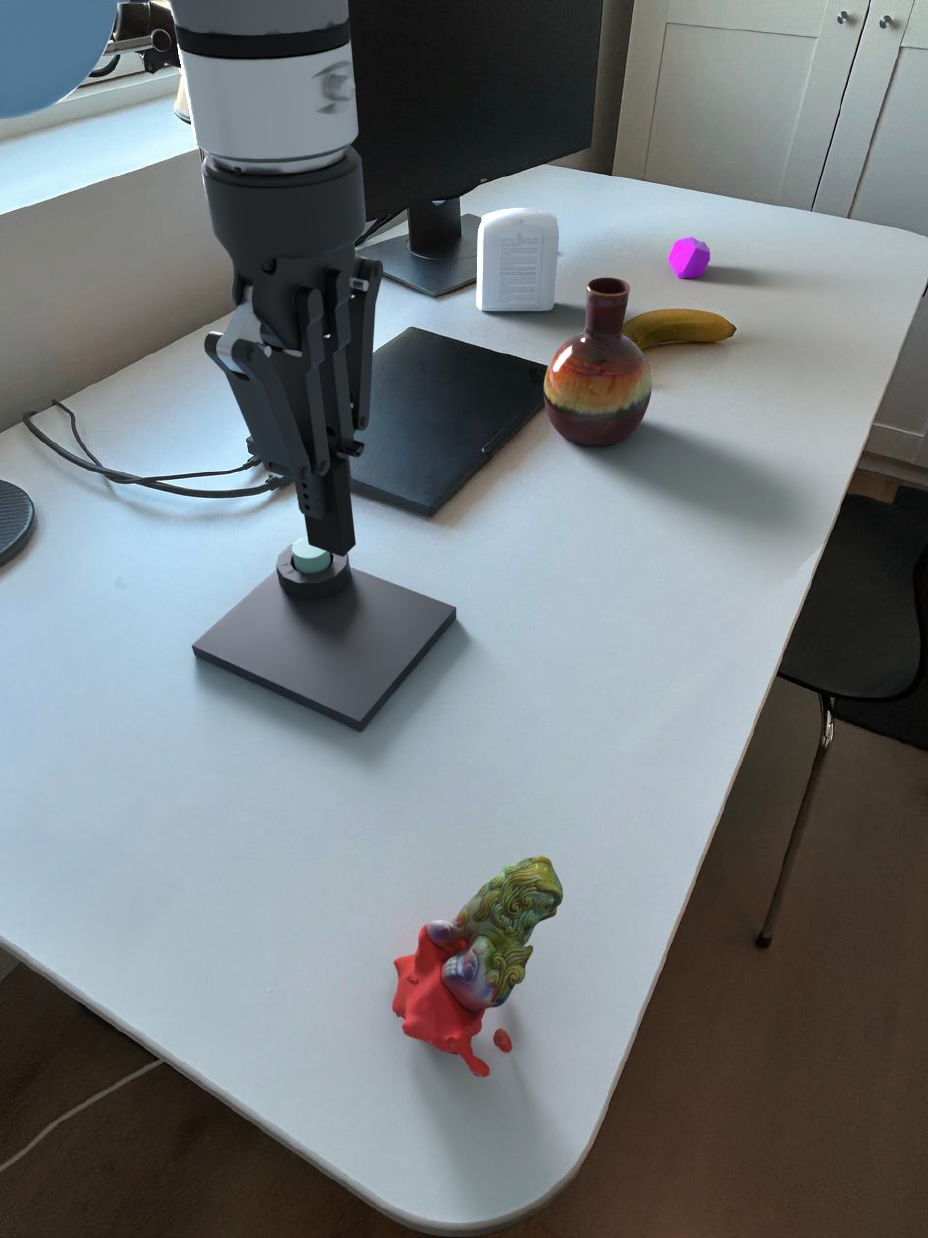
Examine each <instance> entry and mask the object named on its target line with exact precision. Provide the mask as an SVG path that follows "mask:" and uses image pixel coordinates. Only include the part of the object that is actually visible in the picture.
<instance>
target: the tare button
mask: <svg viewBox="0 0 928 1238" xmlns="http://www.w3.org/2000/svg"><path fill="white" fill-rule="evenodd" d="M293 543H294V545H293V547H292V552H293V558H294V564H295V567H296V569H297V570H298V571H299V572H301V573H304V574H316V573H319V572H322V571H324V570H326V569H327V568H328V567H329V565H330V563H331V560H330V553H329V552H328V551H325V550H322V549H319V548H317V547H314V546H311V545H309V543H308V537H307V536H304V537H302V538H299V539H298V540H296V541H295V542H293Z"/></svg>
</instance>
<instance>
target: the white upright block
mask: <svg viewBox="0 0 928 1238" xmlns="http://www.w3.org/2000/svg"><path fill="white" fill-rule="evenodd" d="M481 216H482V217H481V222H480V224H479V227H478V232H477V263H476V264H477V267H476V268H477V269H476V270H477V272H476V307H477V309H479V311H482V312H483V311H485V312H546V311H551V310H552V309H553V308H554V305H555V304H554V303H555V295H556V293H555V292H556V280H557V268H558V258H559V257H558V256H559V241H560V230H559V225H558V218H557V216H556V215H555V214H552V213H551V212H548V211H544V210H540V209H535V208H529V207H527V208H526V207H513V208H511V207H510V208H505V209H504V208H503V209H499V210H495V211H492V212H489V213H486V214H484V215H481Z"/></svg>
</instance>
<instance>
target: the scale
mask: <svg viewBox="0 0 928 1238" xmlns="http://www.w3.org/2000/svg"><path fill="white" fill-rule="evenodd" d="M294 543H295V542H293V543H290V544H288V546H287V547H286V548H284V549H283V550H282V551H281V552H280V553H279V554H278V556H277V560H276V564H275V568H276V569H275V570H274V571H272V572H271V573H270V574H269V575H268V576H267V577H266V578H265V579H263V580H262V581H261V582H259V584H257V586H255V588H254V589H252V590H251V591H250V592H249V593H248V594H247V595H246V596H244V597H243V598H242V599H241V600H239V602H238V603H237V604H236V605H235V606H233V607H232V608H231V609H230V610H229V611H228V612H227V613H225V615H223V616H222V617H221V618H220V619H219V620H218V621H217V622H215V624H213V625H212V626H211V627H210V628H209V629H208V630H207V631H205V632H204V633H203V634H202V635H201V636H199V638H198V639H197V640H196V641H194V642H193V643H192V644H191V650H192V652H193V655H194V657H196V658H198V659H201V660H203V661H205V662H206V663H209V664H211V665H214V666H216V667H218V668H220V669H222V670H225V671H227V672H228V673H231V674H233V675H235V676H237V677H239V678H241V679H244V680H247V681H248V682H251V683H252V684H255V685H257V686H259V687H261V688H264V689H266V690H268V691H270V692H272V693H275V694H277V695H279V696H280V697H283V698H286V699H287V700H290V701H292V702H293V703H296V704H299V705H300V706H303V707H304V708H307V709H309V710H311V711H313V712H316V713H318V714H320V715H321V716H322V715H323V716H325V717H327V718H329V719H332V720H333V721H335V722H338V723H340V724H342V725H344V726H347V727H348V728H351V729H352V730H355V731H357V732H359V733H363V731H364V730H365V729H366V727H367V726H368V725H369V724H370V723H371V722H372V720H373V719H374V718H375V717H376V716H377V715H378V713H379V712H380V711H381V709H382V708H383V707H384V706H385V704H386V703H387V702H388V701H389V700H390V699H391V697H392V696H393V695H394V694H395V692H396V691H397V690H398V689H399V688H400V687H401V685H403V683H404V682H405V680H406V679H407V678H408V677H409V676H410V675H411V673H412V672H413V671H414V670H415V669H416V667H417V666H418V665H419V664H420V662H422V660H423V659H424V658H425V657H426V655H427V654H428V653H429V651H431V649H432V648H433V647H434V646H435V644H436V643H437V642H438V640H439V639H440V638H441V637H442V636H443V635H444V633H445V632H446V630H448V629H449V628H450V626H451V625H452V624H453V623H454V622H455V620H456V619H457V606H454V605H451V604H449V603H446V602H443V601H441V600H439V599H435V598H433V597H430V596H427V595H425V594H423V593H419V592H417V591H415V590H412V589H410V588H408V587H407V588H406V587H404V586H401V585H399V584H396V583H393V582H390V581H388V580H386V579H383V578H380V577H378V576H375V575H374V574H373V575H372V574H371V573H367V572H365V571H362V570H359V569H357V568H354V567H352V566H351V565H350V557H349V552H348V553H347V554H346V555H345V556H344V557H342V556H339V555H336V554H333V553H331V552H329V553H330V560H331V563H330V565H329V567H328V568H327V569H326V570H324V571H322V572H319V573H316V574H304V573H301V572H299V571H298V570H297V569H296V567H295V564H294V558H293V552H292V547H293V545H294Z"/></svg>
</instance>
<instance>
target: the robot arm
mask: <svg viewBox="0 0 928 1238" xmlns="http://www.w3.org/2000/svg"><path fill="white" fill-rule="evenodd" d="M159 1H160V0H0V120H11V119H15V118H20V117H24V116H29V115H32V114H35V113H38V112H40V111H43V110H46V109H48V108H50V107H53V105H56V104H57V103H59V102H60V101H62V100H64V99H66V98H67V97H68V96H69V95H71V94H72V93H74V91H75V90H76V89H78V88H79V87H81V85H82V84H83V83H84V81H85V80H87V78H88V77H89V76H90V74H92V72H93V71H94V69H95V68H96V67H97V65H98V63H99V62H100V60H101V59H102V57H103V55H104V53H105V52H106V49H107V47H108V44H109V41H110V38H111V37H112V33H113V30H114V26H115V23H116V18H117V13H118V12H117V11H118V7H119V5H121V4H131V5H138V4H149V3H150V2H159ZM167 1H168V5H169V7H170V11H171V15H172V17H173V21H174V23H173V25H174V27H173V28H174V32H175V37H176V43H177V49H178V55H179V61H180V64H181V65H180V66H181V72H182V77H183V83H184V88H185V94H186V98H187V105H188V109H189V115H190V120H191V121H190V122H191V126H192V127H191V128H192V132H193V138H194V141H195V143H196V146H197V147H198V148H200V149H201V150H203V152H204V153H206V154H207V155H206V156H205V157H204V160H203V162H202V164H201V165H200V170H201V175H202V181H203V185H204V186H203V187H204V191H205V196H206V197H205V198H206V202H207V207H208V212H209V218H210V224H211V228H212V232H213V235H214V237H215V238H216V240H217V241H218V243H220V245H221V246H222V247H223V249H224V250H225V252H226V253H227V254H228V256H229V257H230V259H231V262H232V271H233V273H232V283H231V287H230V289H231V290H230V291H231V292H230V294H231V301H232V303H233V306H234V308H235V311H234V313H233V315H232V317H231V319H230V321H229V323H228V325H227V327H226V328H225V331H224V333H222V332H219V331H210V332H208V333H207V335H206V337H205V338H204V342H203V349H204V352H205V353H206V356H207V357H209V359H211V360H212V362H213V363H215V364H216V366H217V367H218V368H219V369H220V370H221V371H222V372H223V373H224V374H225V377H226V380H227V382H228V385H229V387H230V389H231V391H232V394H233V396H234V398H235V401H236V403H237V406H238V408H239V410H240V413H241V415H242V417H243V420H244V422H245V424H246V426H247V429H248V432H249V435H250V436H251V439H252V441H253V444H254V446H255V449H256V451H257V453H258V456H259V458H260V460H261V462H262V465H263V467H264V469H265V471H267V472H270V473H273V474H276V475H279V476H281V477H284V478H288V479H291V480H294V487H295V492H296V499H297V505H298V509H299V511H300V513H301V514H302V515H303V516H304V517H303V518H304V522H305V523H304V524H305V531H306V537H308V543H309V545H311V546H314V547H317V548H319V549H322V550H325V551H328V552H331V553H333V554H336V555H339V556H342V557H344V556H345V555H346V554H347V553H348V554H349V552H350V551H351V550H352V549H353V548H354V547H355V546H356V545H357V542H356V531H355V523H354V515H353V514H354V513H353V503H352V496H351V493H352V486H353V480H352V479H353V478H352V472H351V462H350V457H353V458H360V457H362V455H363V453H364V451H365V447H366V446H365V442H362V441H358V440H357V439H356V440H355V434H356V432H357V431H359V432H364V431H365V430H366V429H367V428H368V426H369V424H370V413H371V394H372V377H373V359H374V343H375V342H374V340H375V326H376V325H375V323H376V307H377V305H376V304H377V302H378V301H377V300H378V296H379V293H380V292H379V291H380V287H381V284H382V283H381V282H382V280H383V276H384V275H383V274H384V265H383V262H382V260H380V259H376V258H369V257H365V256H361V255H359V254H357V253H356V246H355V242H356V241H357V240H358V239H359V238H360V237H361V236H362V234H363V233H364V230H365V228H366V222H367V215H366V201H365V190H364V189H365V188H364V187H365V186H364V176H363V161H362V157H361V155H360V154H359V153H358V152H357V150H356V149H355V148H354V147H353V146H352V145H351V144H352V143H354V141H355V140H356V138H357V137H358V135H359V122H358V110H357V109H358V108H357V98H356V83H355V76H354V73H355V72H354V64H353V51H352V41H351V38H352V33H351V23H350V22H351V21H350V20H351V19H350V12H349V0H167Z"/></svg>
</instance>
